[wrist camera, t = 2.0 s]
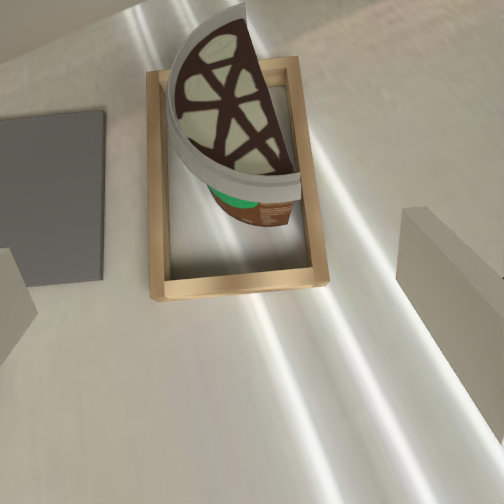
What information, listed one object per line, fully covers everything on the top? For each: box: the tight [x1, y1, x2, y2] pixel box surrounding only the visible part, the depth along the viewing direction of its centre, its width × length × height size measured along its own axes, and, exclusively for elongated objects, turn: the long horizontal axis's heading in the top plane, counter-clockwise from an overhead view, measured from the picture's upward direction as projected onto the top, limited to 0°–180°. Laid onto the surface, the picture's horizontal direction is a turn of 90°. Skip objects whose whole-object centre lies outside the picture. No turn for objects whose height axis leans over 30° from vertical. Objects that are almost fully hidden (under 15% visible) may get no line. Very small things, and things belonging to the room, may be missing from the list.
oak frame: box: [146, 56, 330, 302], centre depth 30 cm, size 12×18×2 cm, turn 5°
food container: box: [165, 2, 301, 227], centre depth 26 cm, size 12×6×10 cm, turn 15°
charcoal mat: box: [0, 110, 106, 287], centre depth 31 cm, size 12×14×1 cm
